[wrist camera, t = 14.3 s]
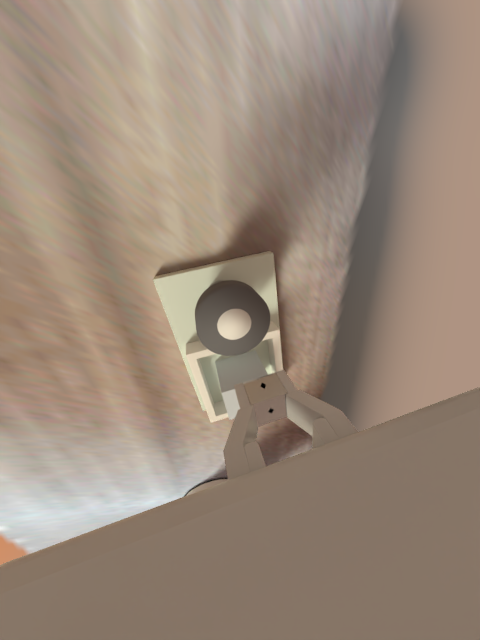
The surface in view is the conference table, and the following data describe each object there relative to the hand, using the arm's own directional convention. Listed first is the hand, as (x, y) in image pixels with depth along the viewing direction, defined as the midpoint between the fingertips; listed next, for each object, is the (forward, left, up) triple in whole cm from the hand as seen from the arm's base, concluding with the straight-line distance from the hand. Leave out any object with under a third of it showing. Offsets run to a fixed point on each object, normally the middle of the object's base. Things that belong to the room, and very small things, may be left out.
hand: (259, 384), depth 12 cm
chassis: (-7, 0, -17) cm, 18 cm away
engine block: (-12, 0, -15) cm, 19 cm away
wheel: (0, 0, -11) cm, 11 cm away
